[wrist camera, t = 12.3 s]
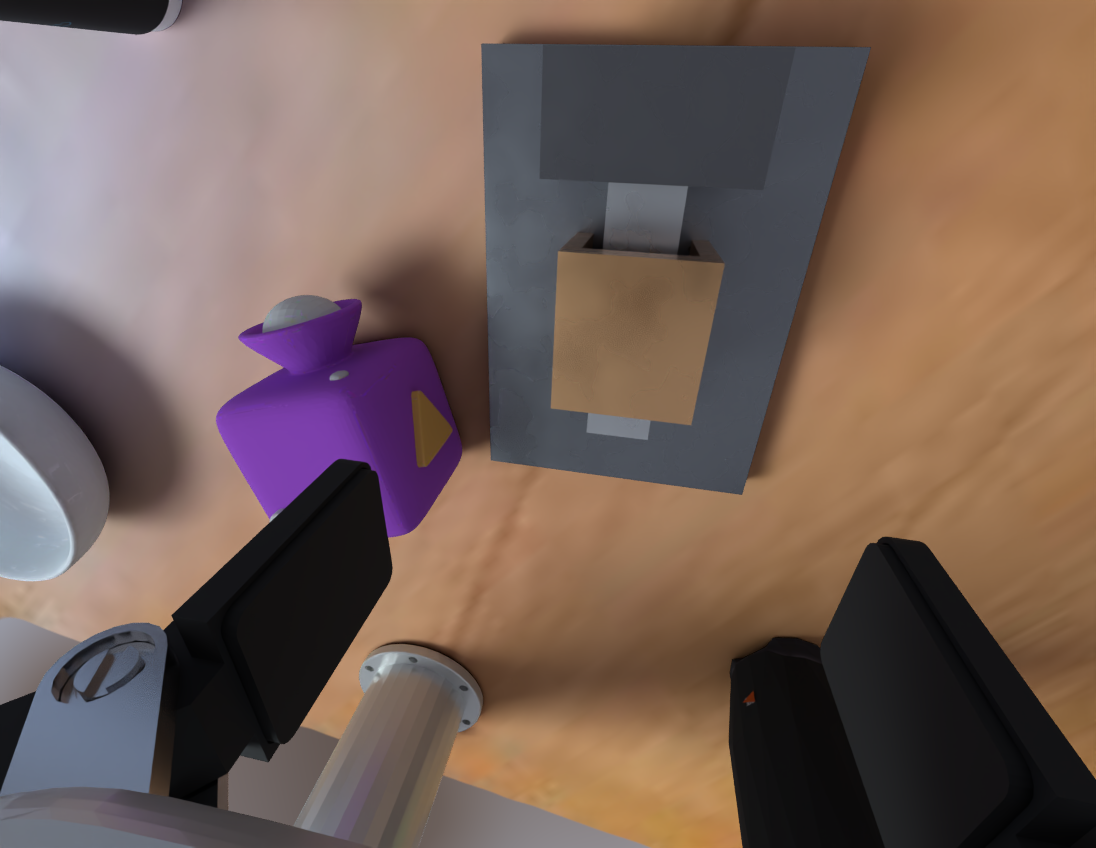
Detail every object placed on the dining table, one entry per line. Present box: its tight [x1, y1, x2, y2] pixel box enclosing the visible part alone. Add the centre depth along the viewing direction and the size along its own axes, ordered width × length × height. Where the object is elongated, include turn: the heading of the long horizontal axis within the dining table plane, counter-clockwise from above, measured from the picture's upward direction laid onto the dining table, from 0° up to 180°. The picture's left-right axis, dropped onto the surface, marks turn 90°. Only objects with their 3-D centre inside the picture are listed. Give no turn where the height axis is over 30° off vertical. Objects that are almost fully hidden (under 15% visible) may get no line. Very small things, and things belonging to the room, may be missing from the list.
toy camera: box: [216, 295, 462, 537], centre depth 28 cm, size 11×14×10 cm
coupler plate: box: [481, 44, 871, 495], centre depth 24 cm, size 22×16×8 cm
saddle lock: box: [551, 232, 725, 425], centre depth 23 cm, size 7×6×6 cm
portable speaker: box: [729, 638, 885, 848], centre depth 30 cm, size 9×9×20 cm
